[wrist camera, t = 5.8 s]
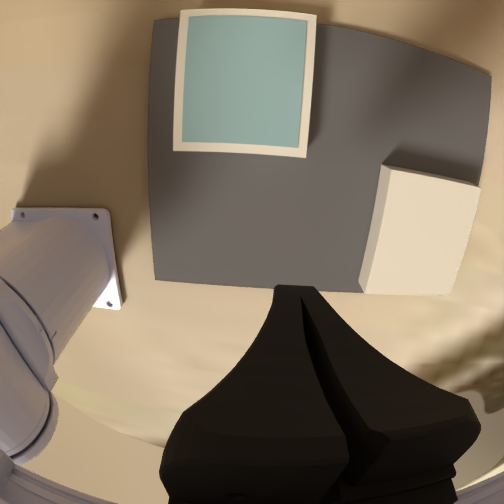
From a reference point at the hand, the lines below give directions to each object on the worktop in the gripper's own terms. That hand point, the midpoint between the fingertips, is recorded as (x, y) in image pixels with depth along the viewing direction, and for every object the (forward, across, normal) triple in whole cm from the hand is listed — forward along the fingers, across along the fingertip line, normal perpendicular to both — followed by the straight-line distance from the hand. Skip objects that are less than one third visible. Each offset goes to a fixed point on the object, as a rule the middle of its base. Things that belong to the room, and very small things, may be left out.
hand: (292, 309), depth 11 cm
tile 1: (+9, +2, -8) cm, 13 cm away
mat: (+10, -3, -4) cm, 11 cm away
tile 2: (+8, -6, 0) cm, 10 cm away
